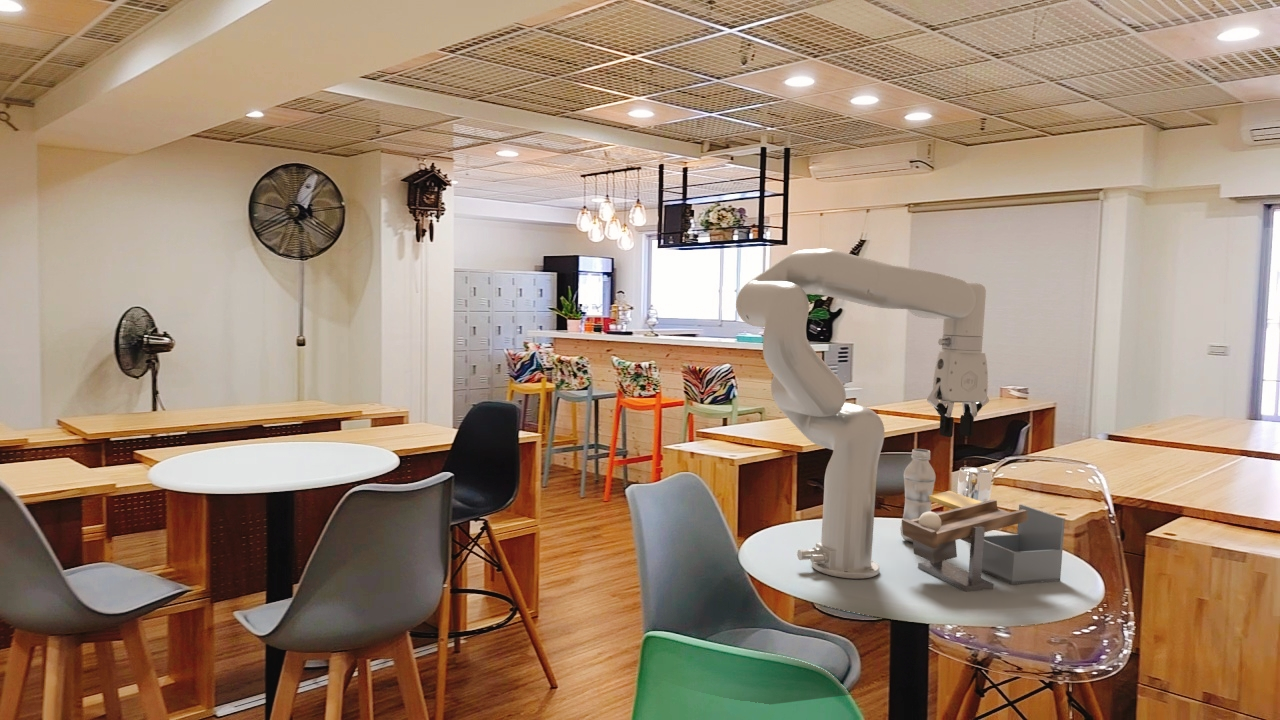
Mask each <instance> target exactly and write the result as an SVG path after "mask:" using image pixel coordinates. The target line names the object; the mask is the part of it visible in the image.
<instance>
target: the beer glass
mask: <svg viewBox="0 0 1280 720" xmlns="http://www.w3.org/2000/svg"><path fill="white" fill-rule="evenodd" d="M956 491H957V492H956V493H958V494H961V495H964V496H966V497H969V498H972V499H975V500H978V501H981V502H985V501H989V500H991V495H992V494H991V493H992V471H991V470H989V469H987V468H982V467H972V466H962V467H960V468H959V474H958V479H957V490H956ZM984 536H986V532H984Z"/></svg>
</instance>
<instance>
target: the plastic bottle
mask: <svg viewBox="0 0 1280 720" xmlns="http://www.w3.org/2000/svg"><path fill="white" fill-rule="evenodd" d="M910 457H911V459H912V460H911V461H910V462H909V463H908V465H906V467H905V469H904V471H903V484H904V485H903V486H904V497H905V498H904V508H903V516H902V519H908V520H913V519H917V518H920V516H921V515H922V514H923V513H925V512H929V511H930V512H932V501H930V500H929V495H933V491H934V488H935V482H936V477H937V476H936V473H935V470H934V468H933V467H932V465H931V463H930V462H929V461H930V460H931V451H930V449H929V450H928V449H922V448H914V449H912V451H911V455H910ZM899 529H900V535H901V537H902V539H903V540H905V541H907V542H910V543H913V539H911V538H909V537H907V536H904V535H903V529H902V521H901V523H900V528H899Z"/></svg>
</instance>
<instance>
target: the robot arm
mask: <svg viewBox="0 0 1280 720" xmlns="http://www.w3.org/2000/svg"><path fill="white" fill-rule="evenodd" d="M986 291H987V290H986V287H985V286H984V284H982V283H979V282H978V283H976V282H967V281H965V280H963V279H960V278H957V277H953V276H950V275H945V274H942V273H937V272H932V271H927V270H923V269H922V270H921V269H917V268H912V267H911V268H910V267H906V266H902V265H898V264H894V263H893V264H892V263H887V262H882V261H878V260H875V259H874V260H873V259H871V258H865V257H862V256H860V255H854V254H851V253H848V252H844V251H840V250H836V249H832V248H831V249H830V248H813V249H812V248H811V249H802V250H797V251H794V252H793V253H790V254H789V255H787V256H786V257H784V258H782V259H780V260H779V261H778V262H776V263H775V264H773V265H772V266H770V267H769V268H768V269H766V270H765V271H763V272H762V273H760V274H759V275H757V276H756V277H754V278H752V279H751V280H750V281H748V282H747V283H746V284H745V285H743V286H742V288H741V289H740V290H739V292H738V294H737V296H736V303H735V308H736V312H737V315H738V316H739V317H740V320H742V321H743V322H744V323H746V324H747V325H750V326H753V327H758V328H764V329H763V336H762V337H763V338H762V354H763V360H764V362H765V364H766V366H767V368H768V370H769V372H771V373H772V374H773V376H772V379H771V383H770V390H771V391H770V392H771V396H772V399H773V401H774V403H775V404H776V406H777V407H778V409H779V410H780V411H781V413H783V415H785V417H787V418H788V420H789V421H790V422H791V423H792V424H793V425H794V426H795V427H796V428H797V429H798V430H799V432H800V433H801V434H802V435H803V436H804V437H806V439H807V440H809V441H810V442H812V443H813V444H814V445H817V446H819V447H821V448H826V449H828V450H832V455H831V456H830V459H829V461H828V463H827V466H826V469H825V473H824V482H823V487H824V488H823V505H822V522H821V523H822V525H821V539H820V540H821V541H820V542H815V547H813V548H811V549H808V548H807V549H799V550H797V552H796V553H797V554H796V555H797V558H798V560H799V561H804V560H805V561H807V560H810V562H811V567H812V568H813V569H814V570H816V571H817V572H819V573H822V574H824V575H828V576H832V577H838V578H842V579H843V578H844V579H857V580H860V579H861V580H862V579H868V578H873V577H875V576H877V575H879V574H880V565H879V563H877V562H876V561H874V560H872V556H873V542H874V541H873V540H874V525H875V523H874V522H875V508H876V507H875V505H876V490H877V488H876V487H877V476H878V468H879V467H878V466H879V460H880V457H881V456H880V455H881V451H882V449H883V446H884V441H885V426H884V423H883V421H882V419H881V417H880V415H878V414H877V413H876V412H875V411H874V410H873V409H870V408H869V407H867V406H864V405H861V404H860V405H859V404H855V403H850V402H846V399H847V395H846V393H847V392H846V389H845V387H844V384H843V382H842V381H841V380H840V377H838V376H837V374H836V373H835V372H834V371H833V370H832V369H831V368H830V367H829V365H828V364H826V362H825V361H824V360H823V359H822V358H821V356H820V355H819V354H818V353H817V352H816V351H815V349H814V348H813V347H812V346H811V344H810V342H809V340H808V337H807V322H808V317H809V311H810V303H809V302H810V301H809V298H808V296H807V295H821V296H824V297H830V298H833V299H838V300H843V301H847V302H851V303H855V304H858V305H862V306H867V307H872V308H879V309H888V310H908V312H909V313H910V314H912V315H914V316H915V317H918V318H923V319H935V320H937V319H938V320H939V319H941V320H943V326H942V327H943V328H942V338H938V341H937V343H938V345H939V346H941V350H939V351H938V355H937V359H936V363H935V368H934V373H933V383H932V390H931V392H930V394H929V395H928V397H927V398H926V401H927V403H929V404H930V405H931V406H933V408H934V409H935V411H936V412H937V414H938V416H940V419H939V435H940V436H943V437H947V438H952V437H953V434H954V421H955V420H954V417H953V416H952V415H953V414H952V413H953V410H954V405H955V403H962V414H960V419H959V420H960V421H959V434H960V435H961V436H964V437H968V438H972V437H973V433H974V432H973V431H974V423H975V422H974V421H975V420H974V419H975V418H976V417H977V416H978V413H979V411H980V410H981V409H982V408H983V407H984V406H985V405H987V404H988V403H989V402H990V399H989V397H988V390H989V389H988V387H989V385H988V383H989V381H988V379H989V378H988V377H989V376H988V375H989V374H988V373H989V372H988V363H987V356H986V353H985V352H982V351H983V338H984V337H983V336H984V326H985V309H986V295H987V294H986V293H987V292H986Z"/></svg>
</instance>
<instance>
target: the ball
mask: <svg viewBox="0 0 1280 720" xmlns="http://www.w3.org/2000/svg"><path fill="white" fill-rule="evenodd" d="M934 512H935V511H931V512H930V511H929V512H925V513H923V514H922V515H921V516H920V518H919V524H920V525H923V526H925V527H927V528H930V529H932V530H935V531H936V532H937V531H938V530H939V529H940V527H941V519H940V517H939V516H938V515H937V514H936V513H934Z"/></svg>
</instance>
